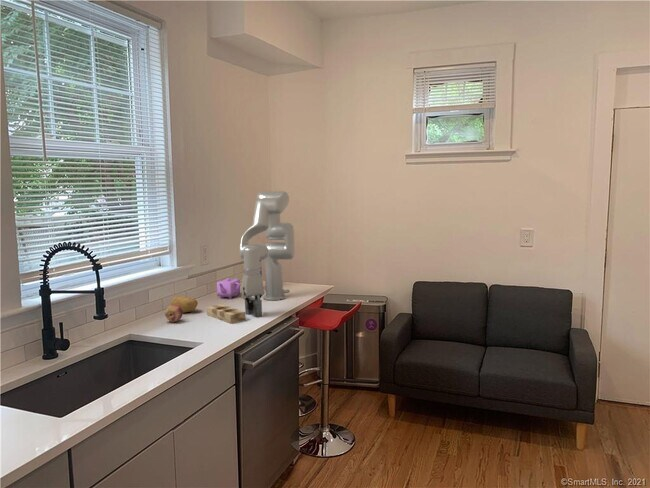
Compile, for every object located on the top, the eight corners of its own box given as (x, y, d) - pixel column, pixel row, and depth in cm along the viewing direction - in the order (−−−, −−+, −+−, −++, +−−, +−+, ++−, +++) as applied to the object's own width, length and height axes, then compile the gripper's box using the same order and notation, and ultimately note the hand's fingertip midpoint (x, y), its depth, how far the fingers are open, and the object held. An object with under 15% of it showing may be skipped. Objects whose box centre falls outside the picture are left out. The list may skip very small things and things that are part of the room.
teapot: (243, 298, 278) (242, 279, 277) (219, 300, 274) (218, 281, 272) (238, 293, 292) (237, 275, 291) (215, 295, 288) (214, 277, 287)
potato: (190, 315, 243) (190, 299, 242) (167, 313, 248) (166, 297, 247) (202, 311, 252) (201, 295, 251) (180, 308, 257) (179, 293, 256)
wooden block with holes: (221, 311, 249) (220, 304, 249) (245, 320, 233) (245, 311, 233) (207, 314, 244) (206, 307, 243) (230, 323, 228) (230, 315, 227)
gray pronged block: (245, 313, 245) (244, 297, 244) (250, 312, 247) (249, 296, 246) (257, 317, 237) (256, 301, 237) (262, 316, 239) (261, 300, 238)
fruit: (162, 322, 232) (161, 305, 231) (177, 318, 238) (176, 302, 237) (171, 325, 227) (170, 307, 226) (186, 321, 233) (185, 304, 232)
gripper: (261, 269, 248) (262, 305, 250) (233, 273, 237) (234, 311, 239) (270, 270, 242) (271, 307, 244) (242, 275, 231) (243, 313, 234)
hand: (253, 308), depth 242 cm, fingers closed on gray pronged block, 3 cm apart
